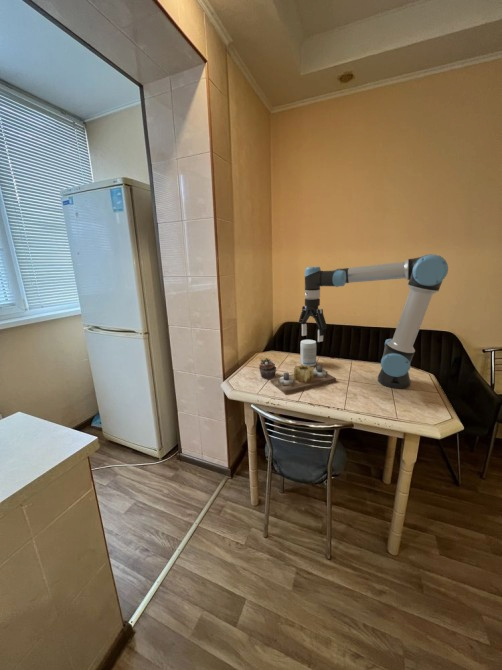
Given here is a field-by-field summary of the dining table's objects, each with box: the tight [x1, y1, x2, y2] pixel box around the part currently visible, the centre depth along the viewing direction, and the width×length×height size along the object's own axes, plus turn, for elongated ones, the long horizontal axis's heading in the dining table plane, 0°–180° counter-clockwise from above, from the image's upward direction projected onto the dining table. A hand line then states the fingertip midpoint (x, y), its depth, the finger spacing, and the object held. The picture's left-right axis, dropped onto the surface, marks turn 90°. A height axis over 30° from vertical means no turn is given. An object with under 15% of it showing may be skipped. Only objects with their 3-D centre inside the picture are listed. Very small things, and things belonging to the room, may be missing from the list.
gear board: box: [270, 364, 337, 395], centre depth 149 cm, size 15×31×7 cm, turn 114°
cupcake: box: [258, 358, 277, 380], centre depth 158 cm, size 10×10×10 cm
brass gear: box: [293, 364, 315, 383], centre depth 148 cm, size 10×10×6 cm
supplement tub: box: [299, 339, 317, 367], centre depth 172 cm, size 10×10×15 cm
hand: (311, 338), depth 147 cm, fingers open, 13 cm apart
